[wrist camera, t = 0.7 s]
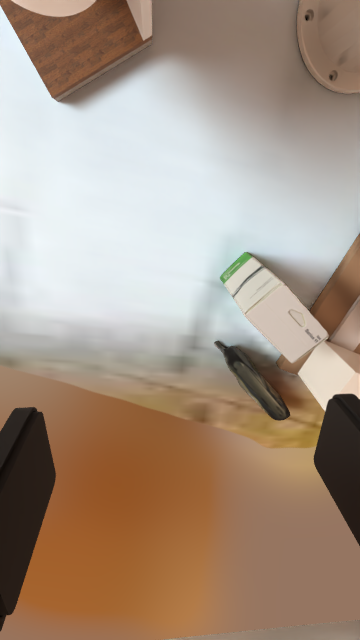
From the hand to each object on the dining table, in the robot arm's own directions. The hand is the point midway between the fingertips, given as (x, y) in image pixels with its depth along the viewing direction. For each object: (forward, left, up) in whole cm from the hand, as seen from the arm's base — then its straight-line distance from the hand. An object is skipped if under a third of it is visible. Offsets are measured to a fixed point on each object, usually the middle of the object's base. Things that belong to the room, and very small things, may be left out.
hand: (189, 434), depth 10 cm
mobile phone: (+12, +19, -31) cm, 38 cm away
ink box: (0, +13, -31) cm, 33 cm away
